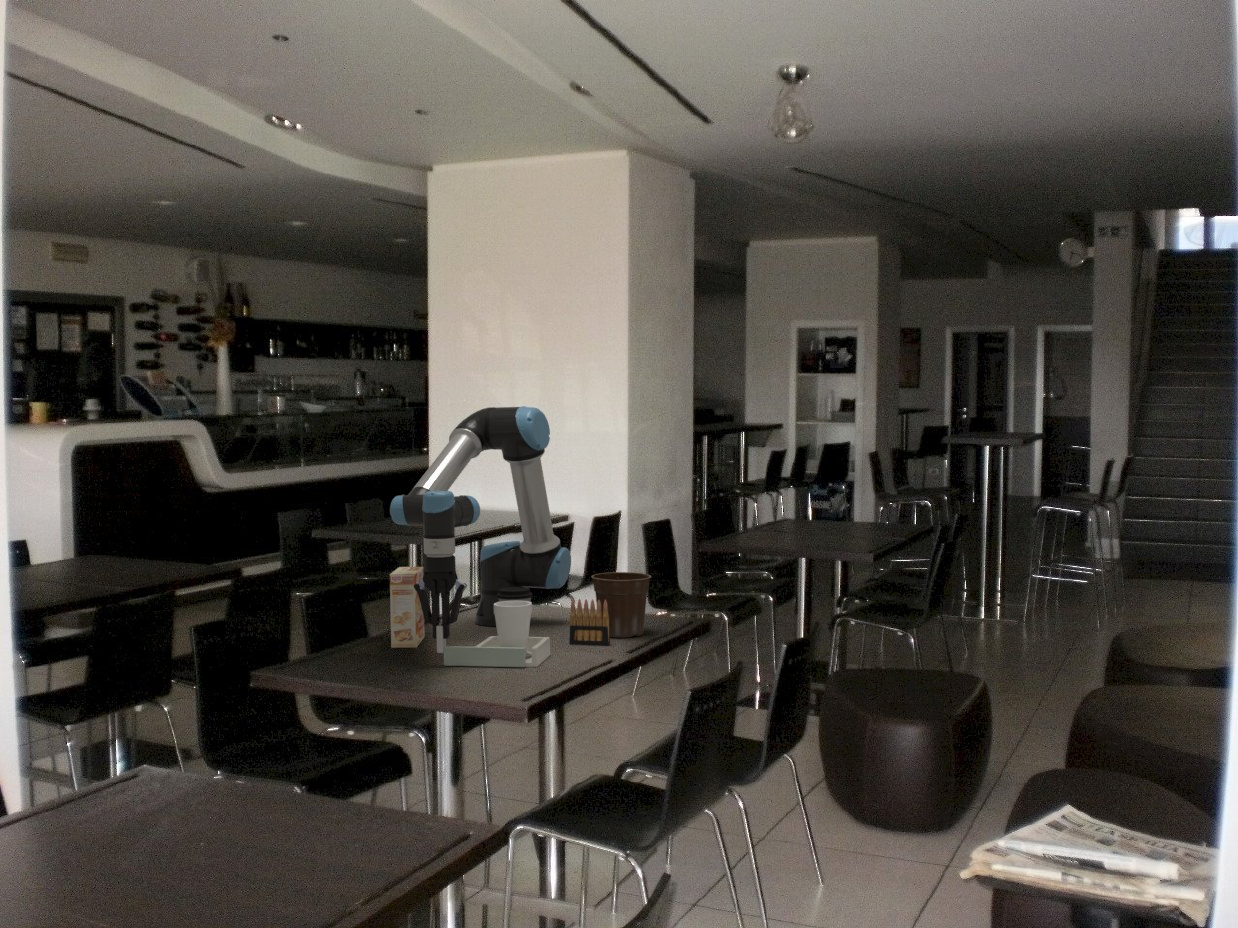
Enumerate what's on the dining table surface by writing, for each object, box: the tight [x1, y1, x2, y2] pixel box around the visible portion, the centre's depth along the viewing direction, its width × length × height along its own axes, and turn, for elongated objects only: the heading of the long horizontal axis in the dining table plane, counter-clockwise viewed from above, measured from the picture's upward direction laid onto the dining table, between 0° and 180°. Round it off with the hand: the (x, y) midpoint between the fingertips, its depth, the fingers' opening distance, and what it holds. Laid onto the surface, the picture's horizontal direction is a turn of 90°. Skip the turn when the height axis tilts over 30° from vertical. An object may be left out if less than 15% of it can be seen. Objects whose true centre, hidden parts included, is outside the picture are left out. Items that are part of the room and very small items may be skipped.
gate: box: [443, 645, 526, 668], centre depth 298 cm, size 1×20×4 cm, turn 80°
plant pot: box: [591, 571, 652, 639], centre depth 337 cm, size 16×16×16 cm
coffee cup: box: [497, 587, 533, 602], centre depth 323 cm, size 9×9×15 cm
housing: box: [475, 635, 551, 668], centre depth 305 cm, size 14×15×4 cm
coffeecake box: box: [389, 566, 425, 649], centre depth 330 cm, size 15×7×20 cm, turn 0°
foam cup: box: [494, 601, 533, 657], centre depth 304 cm, size 10×9×13 cm
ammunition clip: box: [568, 598, 611, 647], centre depth 323 cm, size 11×2×12 cm, turn 76°
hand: (441, 651), depth 300 cm, fingers closed
